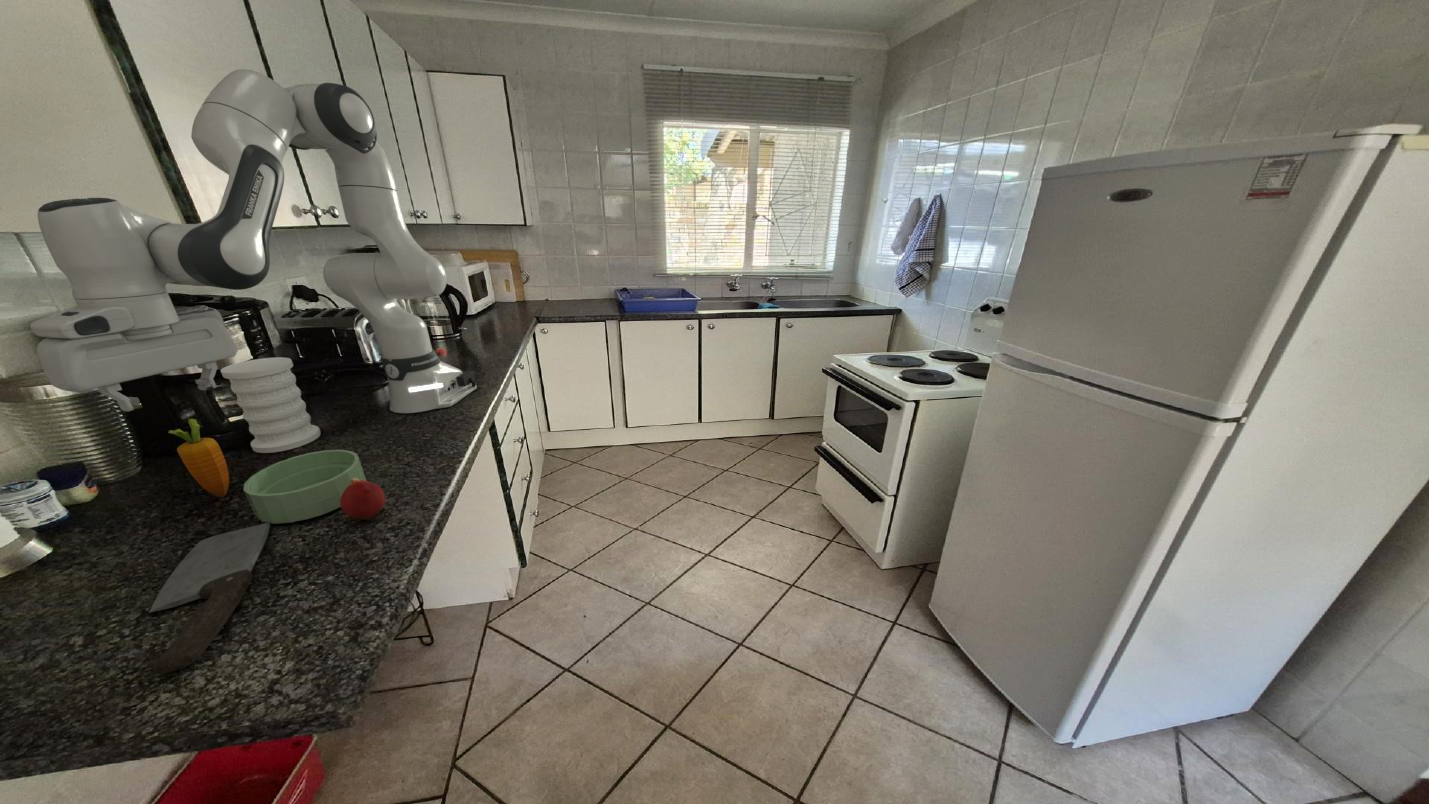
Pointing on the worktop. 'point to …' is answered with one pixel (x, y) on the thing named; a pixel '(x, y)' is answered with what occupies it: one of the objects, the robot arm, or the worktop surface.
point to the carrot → (204, 460)
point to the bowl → (302, 486)
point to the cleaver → (208, 590)
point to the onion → (362, 499)
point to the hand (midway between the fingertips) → (172, 398)
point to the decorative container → (271, 404)
